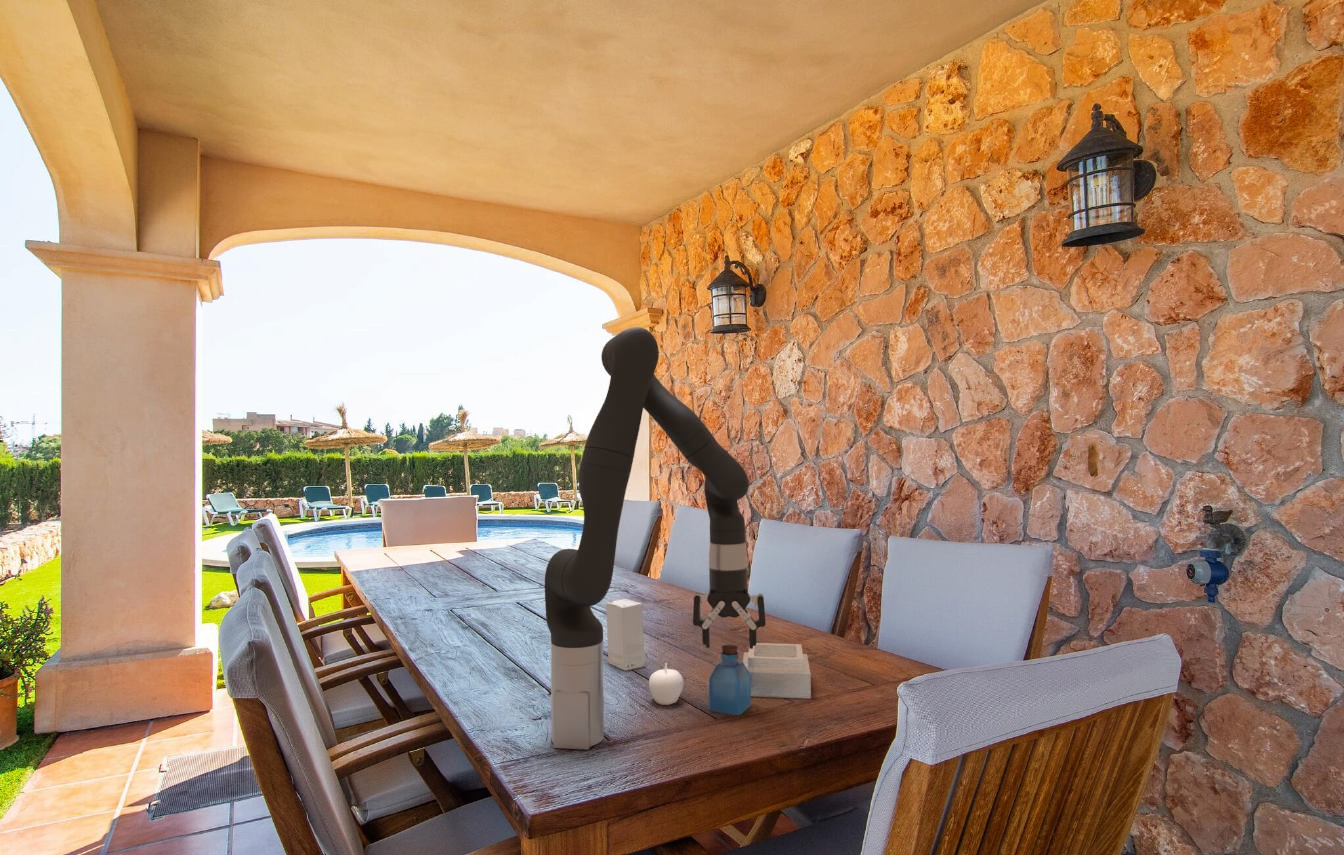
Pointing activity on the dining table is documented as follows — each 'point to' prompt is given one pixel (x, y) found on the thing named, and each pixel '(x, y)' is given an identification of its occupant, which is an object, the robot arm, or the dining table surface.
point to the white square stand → (778, 671)
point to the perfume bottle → (730, 684)
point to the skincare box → (625, 634)
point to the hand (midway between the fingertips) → (729, 647)
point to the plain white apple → (666, 685)
